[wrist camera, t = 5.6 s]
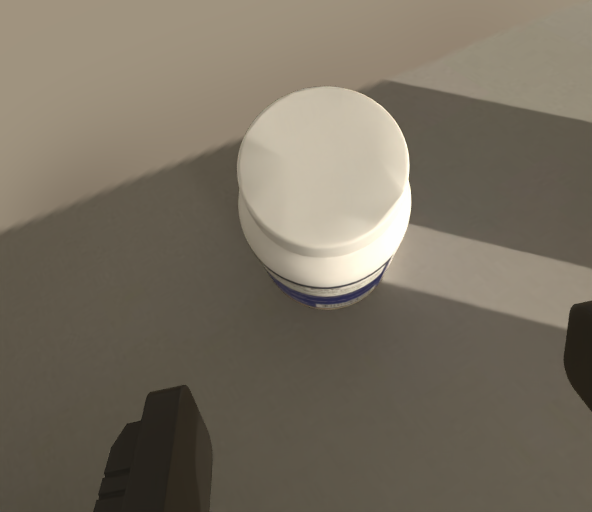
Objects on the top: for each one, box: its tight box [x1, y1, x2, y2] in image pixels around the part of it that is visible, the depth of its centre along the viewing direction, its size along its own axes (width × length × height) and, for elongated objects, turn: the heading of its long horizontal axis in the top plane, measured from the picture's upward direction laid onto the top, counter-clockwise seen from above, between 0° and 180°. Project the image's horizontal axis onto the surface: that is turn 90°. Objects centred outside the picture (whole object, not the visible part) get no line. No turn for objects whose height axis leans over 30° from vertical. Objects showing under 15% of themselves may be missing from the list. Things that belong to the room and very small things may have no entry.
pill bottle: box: [237, 86, 411, 310], centre depth 18 cm, size 6×6×10 cm
